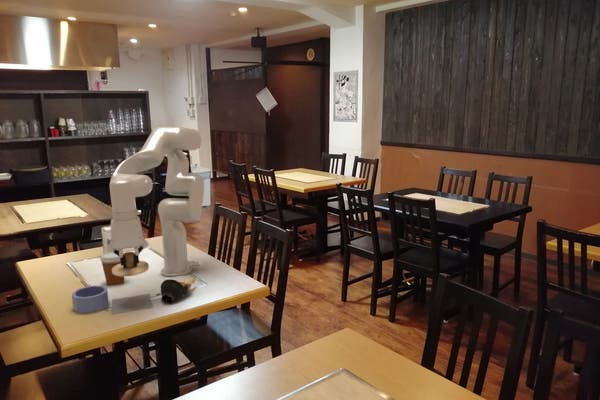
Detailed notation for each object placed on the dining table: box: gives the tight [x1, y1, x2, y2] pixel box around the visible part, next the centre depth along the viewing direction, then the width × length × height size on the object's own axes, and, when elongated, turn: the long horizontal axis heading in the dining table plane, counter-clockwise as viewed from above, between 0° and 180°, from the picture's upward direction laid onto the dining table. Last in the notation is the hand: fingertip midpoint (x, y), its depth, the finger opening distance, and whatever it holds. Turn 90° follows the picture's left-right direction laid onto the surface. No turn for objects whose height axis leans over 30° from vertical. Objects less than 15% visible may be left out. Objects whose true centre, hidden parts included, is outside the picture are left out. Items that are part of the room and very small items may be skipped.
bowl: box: [71, 284, 109, 314], centre depth 156 cm, size 11×11×6 cm
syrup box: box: [101, 225, 119, 254], centre depth 209 cm, size 6×6×14 cm
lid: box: [112, 251, 150, 278], centre depth 156 cm, size 12×12×6 cm
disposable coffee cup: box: [99, 251, 125, 287], centre depth 177 cm, size 10×10×12 cm
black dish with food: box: [160, 277, 197, 304], centre depth 165 cm, size 9×11×18 cm
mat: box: [111, 293, 154, 315], centre depth 158 cm, size 13×13×1 cm
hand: (130, 265), depth 157 cm, fingers closed on lid, 3 cm apart
